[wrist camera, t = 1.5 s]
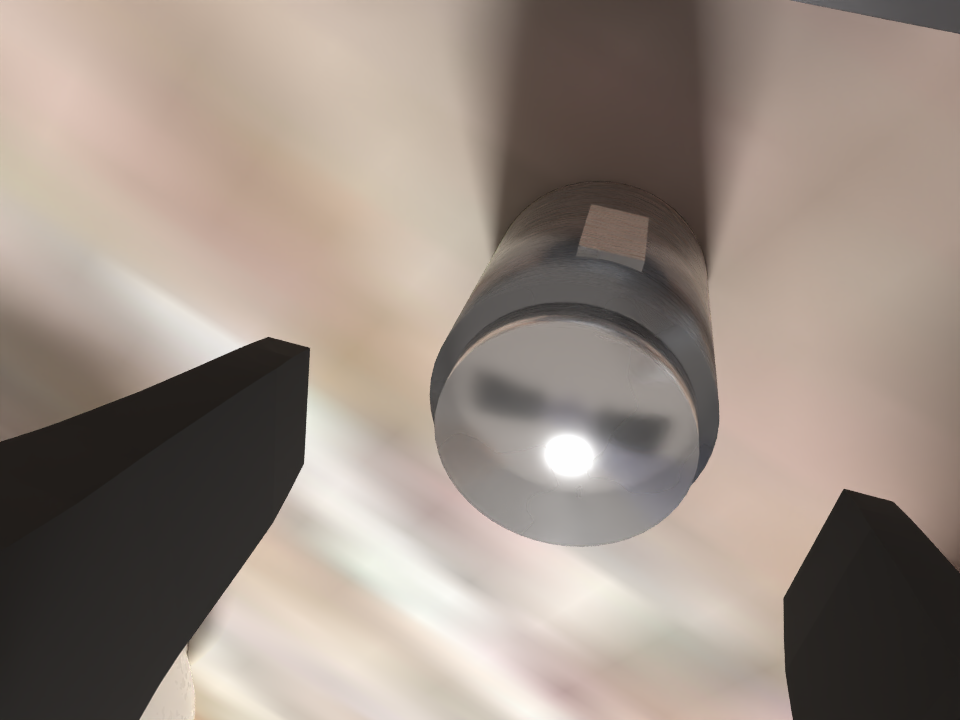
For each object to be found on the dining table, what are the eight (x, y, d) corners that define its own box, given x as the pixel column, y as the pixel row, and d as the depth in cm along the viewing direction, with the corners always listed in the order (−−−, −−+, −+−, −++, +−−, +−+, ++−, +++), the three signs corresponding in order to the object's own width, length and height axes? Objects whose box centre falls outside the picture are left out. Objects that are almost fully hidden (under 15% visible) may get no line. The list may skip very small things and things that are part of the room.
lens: (670, 398, 17) (668, 592, 12) (479, 348, 17) (400, 516, 12) (740, 204, 14) (774, 347, 9) (516, 152, 15) (437, 262, 10)
